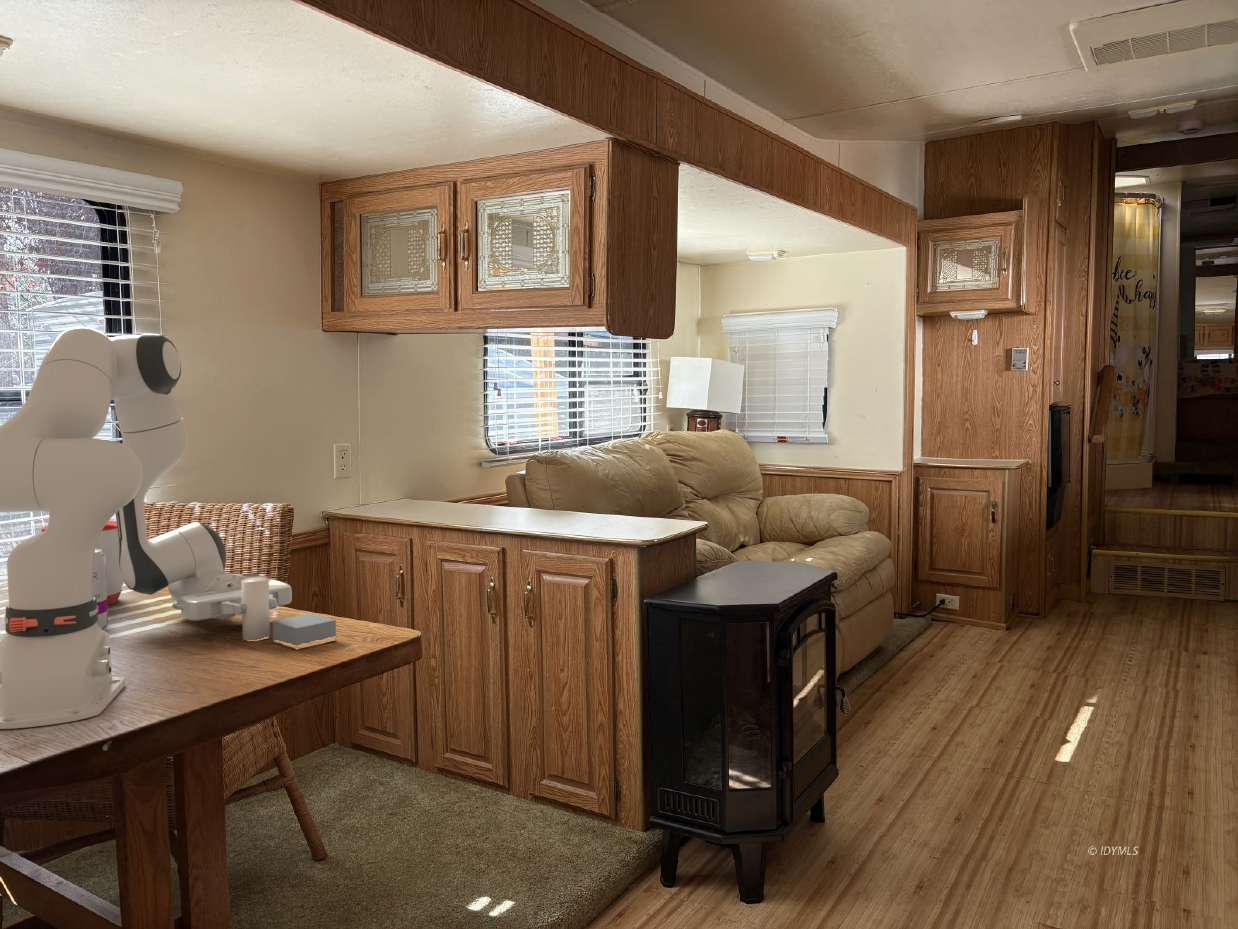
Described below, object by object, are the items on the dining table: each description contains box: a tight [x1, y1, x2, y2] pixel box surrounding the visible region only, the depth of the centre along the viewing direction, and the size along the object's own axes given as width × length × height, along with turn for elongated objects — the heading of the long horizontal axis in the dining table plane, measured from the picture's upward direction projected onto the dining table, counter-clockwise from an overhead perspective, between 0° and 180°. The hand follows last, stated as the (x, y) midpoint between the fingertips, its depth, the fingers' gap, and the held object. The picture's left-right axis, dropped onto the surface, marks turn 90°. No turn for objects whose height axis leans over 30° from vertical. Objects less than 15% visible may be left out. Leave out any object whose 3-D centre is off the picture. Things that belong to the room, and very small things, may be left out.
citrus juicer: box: [41, 520, 125, 606], centre depth 199 cm, size 16×17×20 cm
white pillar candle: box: [241, 577, 271, 640], centre depth 175 cm, size 5×5×11 cm
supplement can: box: [93, 549, 109, 629], centre depth 180 cm, size 8×8×15 cm
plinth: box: [272, 612, 337, 646], centre depth 173 cm, size 8×8×4 cm
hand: (258, 607), depth 174 cm, fingers closed on white pillar candle, 5 cm apart
